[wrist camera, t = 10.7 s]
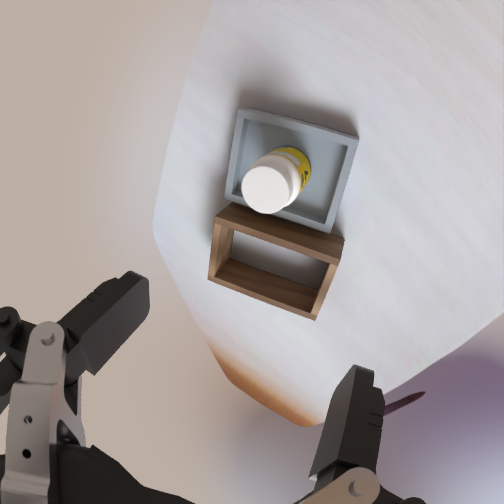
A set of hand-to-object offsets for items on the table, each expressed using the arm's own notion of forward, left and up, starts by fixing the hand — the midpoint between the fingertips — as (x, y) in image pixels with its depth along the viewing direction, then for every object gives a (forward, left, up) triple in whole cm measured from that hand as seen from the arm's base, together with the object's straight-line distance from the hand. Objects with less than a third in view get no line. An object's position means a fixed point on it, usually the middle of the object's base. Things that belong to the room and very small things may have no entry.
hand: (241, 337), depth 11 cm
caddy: (+11, -3, -24) cm, 27 cm away
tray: (+1, -4, -24) cm, 24 cm away
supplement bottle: (+1, -4, -23) cm, 24 cm away
